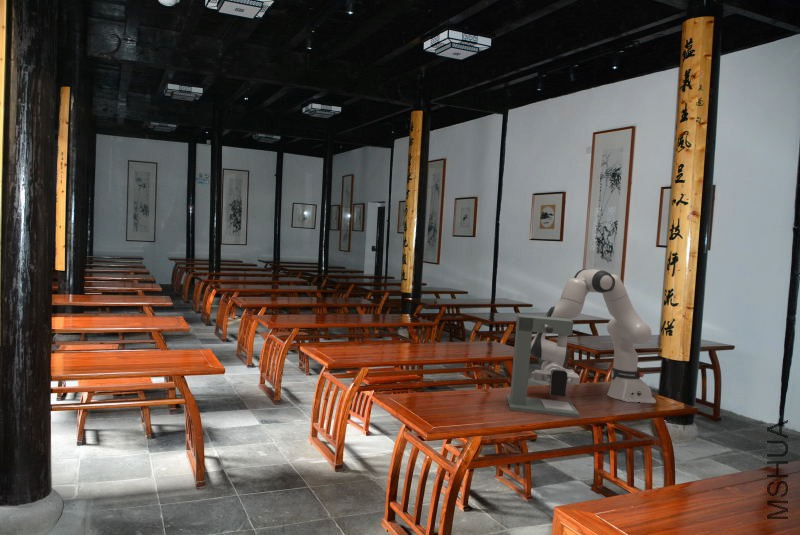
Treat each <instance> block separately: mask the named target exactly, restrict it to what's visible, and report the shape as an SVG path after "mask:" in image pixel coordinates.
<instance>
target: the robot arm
mask: <svg viewBox="0 0 800 535" xmlns="http://www.w3.org/2000/svg"><path fill="white" fill-rule="evenodd" d="M589 293H599V294H601V295H602V297H603V299H604V302H605V306H606V308H607V310H608V313H609V315H610V316H612V317H613V318H611V319H610V320H609V321H608V323H607V325H606V332H608V334H609V335H610V337H611V341H612V345H613V351H614V352H613V354H614V355H613V364H612V366H613V367H612V369H611V373H610V374H611V376H610V377H611V382H610V385H609V389H608V391H607V393H606V395H607V396H608V397H609V398H612V399H615V400H619V401H623V402H626V403H638V402H640V403H639V404H641V403H642V404H656V403H657V400H656V398H654V397H653V395H652V390H651V388H650V387H649V386H648V384H647V383H646V382H645V381H643V379H642V378H643V377H645V374H644V373H643V372H640V371H639V370H638V365H639V364H638V362H639V354H638V352H637V351H636V349H635V346H634V344H635V345H642V344H643V345H644V344H647V343H648V342H649V341H650V340H651V337H652V329H651V327H650V326H649V325H647V324H646V323H645V321H643V320H642V318H641V317H640V316H639V314H638V313H637V311H636V310H635V308H634V306H633V304H632V302H631V299H630V297H629V295H628V291H627V289H626V287H625V285H624V283H623V281H622V279H621V278H620V277H619V275H617V274H614V273H609V272H608V271H606V270H600V269H598V268H597V269H596V268H592V269H588V268H584V269H580V270H579V271H577V272H576V273H575V275H574V277H572V278H569V279H568V280H567V282H566V284H565V285H564V288H563V290H562V291H561V295H560V298H559V301H558V302H557V303H556V305H554V306H551V307H550V308H549V309H548V311H547V313H546V314H545V316H544V317H555V318H566V319H570V320H573V319H575V318H577V317H578V316H579V315H581V312H582V310H583V308H584V304H585V301H586V297H587V295H588V294H589ZM547 335H548V333H540V332H536V334H535V336H534V337H533V339H532V340H531V351H530V357H532V358H533V359H537V360H542V361H543V362H542V364H541V367H540V369H534V371H531V375H533V380H534V381H541V382H546V383H549V384H551V378H550V376H551V371H552V370H553V369H558V370H564V371H566V372H567V385H577V386H578V385H579V384H580V382H581V381H580V378H581V377H580V375H579V374H578V373H577V372H575V371H574V369H571V368H568V367H567V368H566V366H567V365H568V362H569V361H570V351H569V349H568V346H567V347H558V346H557V342H554V341H552V340H549V339H546V336H547Z"/></svg>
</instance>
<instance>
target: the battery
mask: <svg viewBox="0 0 800 535" xmlns="http://www.w3.org/2000/svg"><path fill="white" fill-rule="evenodd" d="M550 378H551V384H550V383H549V384H550V385H549V386H550V388H549V395H550V396H555V397H566V390H567V385H568V384H567V372H566V371H564V370H558V369H553V370H552V371H551V376H550Z"/></svg>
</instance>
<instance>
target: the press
mask: <svg viewBox="0 0 800 535" xmlns="http://www.w3.org/2000/svg"><path fill="white" fill-rule="evenodd" d="M573 328H574V320H573V319H566V318H555V317H545V316H541V315H531V314H519V313H518V314H517V315H516V326H515V335H514V336H515V338H514V347H513V360H512V372H511V382H510V393H509V394H508V395H507V394H506V401H507V400H508V401H507V404H509V405H508V408H509V407H510V408H509V410H510V411H512V410H516V411H515V412H521V411H523V412H525V413H531V412H536V413H535V414H541V413H547V414H546V415H550V414H553V416H560V415H561V417H562V416H563V417H569V416H571V418H580V413H579V411H578V410H577V408H576V407H575V406H574V404H573V403H572V401H567V400H559V399H558V400H557V399H547V398H537V397H530V396H529V397H528V395H527V394H528V386H529V385H528V384H529V382H528V381H529V373H530V372H529V371H530V360H531V359H530V358H531V354H530V351H531V342H532V340H533V339H532V338H533V333H537V332H540V333H547V334H553V335H554V334H555V335H557V342H556V343H557V346H558V347H567V348H568V346H567V345H568V336H573ZM523 412H522V413H523Z"/></svg>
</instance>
